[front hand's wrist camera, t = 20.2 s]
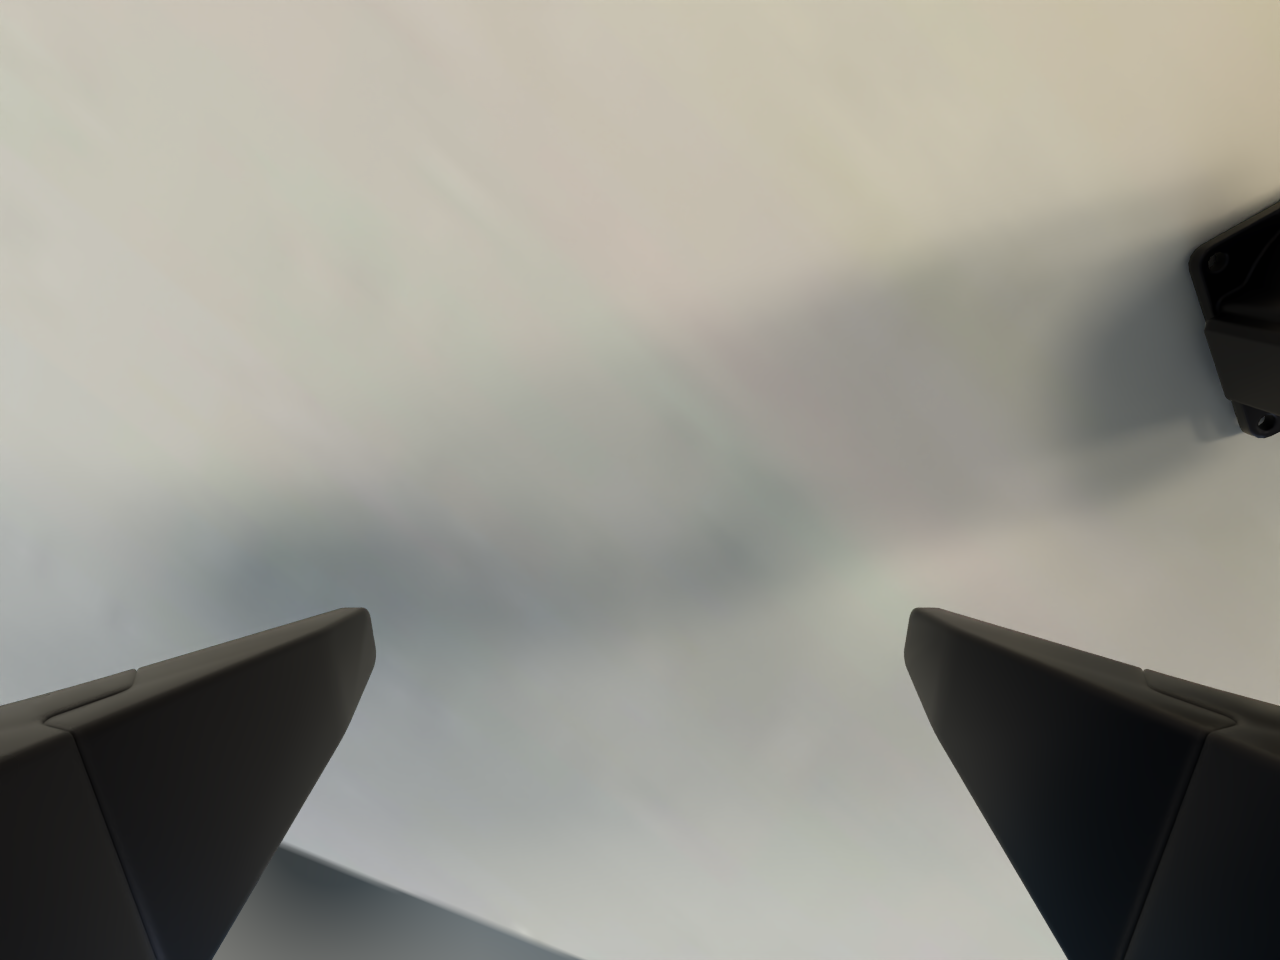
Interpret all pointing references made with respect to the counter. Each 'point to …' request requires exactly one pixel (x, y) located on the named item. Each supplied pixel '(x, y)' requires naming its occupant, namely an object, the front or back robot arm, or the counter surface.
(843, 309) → the counter surface
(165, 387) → the counter surface
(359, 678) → the front robot arm
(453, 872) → the counter surface
